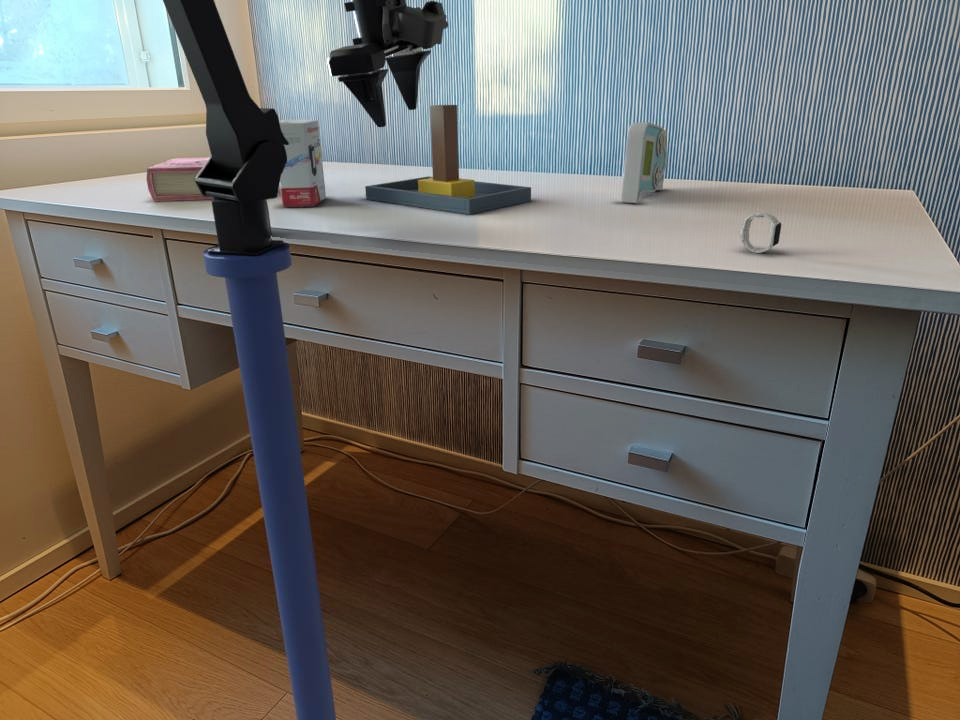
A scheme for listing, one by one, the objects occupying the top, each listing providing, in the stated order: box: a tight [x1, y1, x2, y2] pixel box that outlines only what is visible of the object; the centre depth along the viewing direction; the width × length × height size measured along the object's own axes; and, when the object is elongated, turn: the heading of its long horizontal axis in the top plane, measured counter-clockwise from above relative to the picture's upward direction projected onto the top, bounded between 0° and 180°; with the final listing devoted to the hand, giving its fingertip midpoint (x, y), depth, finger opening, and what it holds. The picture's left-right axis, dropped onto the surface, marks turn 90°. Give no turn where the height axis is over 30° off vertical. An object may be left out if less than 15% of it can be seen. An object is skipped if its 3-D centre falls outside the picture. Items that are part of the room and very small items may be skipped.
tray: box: [364, 175, 532, 215], centre depth 103 cm, size 22×14×2 cm, turn 49°
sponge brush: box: [418, 104, 475, 198], centre depth 101 cm, size 5×7×13 cm
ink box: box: [279, 119, 327, 208], centre depth 102 cm, size 9×5×12 cm, turn 179°
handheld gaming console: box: [620, 121, 669, 205], centre depth 103 cm, size 11×3×15 cm
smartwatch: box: [739, 211, 782, 254], centre depth 70 cm, size 4×2×4 cm, turn 52°
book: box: [145, 156, 215, 202], centre depth 114 cm, size 14×15×5 cm
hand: (397, 117), depth 93 cm, fingers open, 9 cm apart
